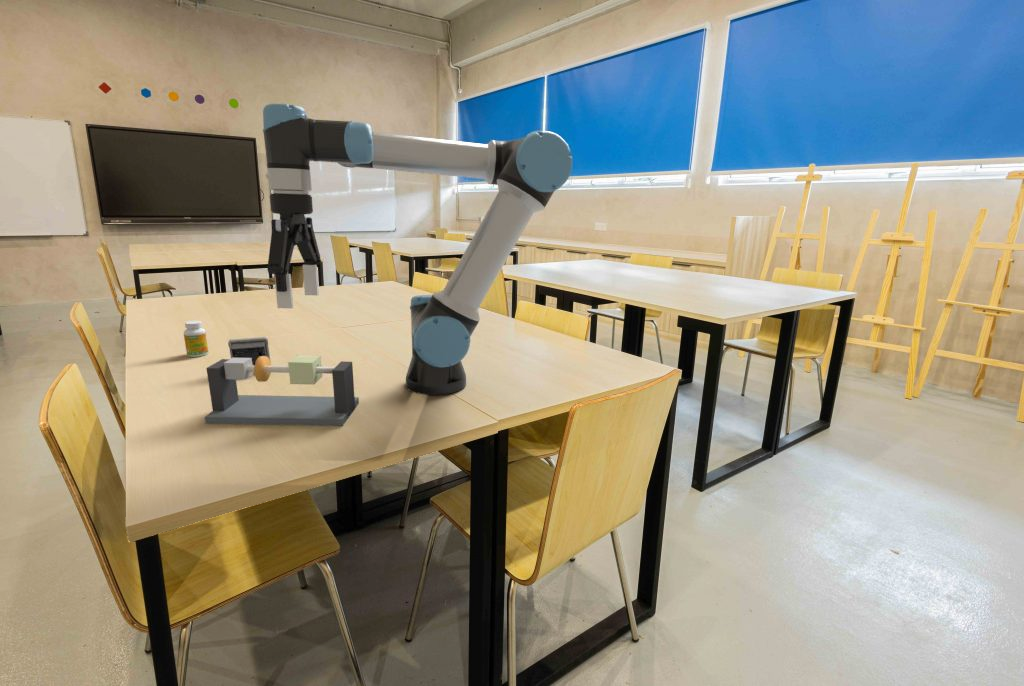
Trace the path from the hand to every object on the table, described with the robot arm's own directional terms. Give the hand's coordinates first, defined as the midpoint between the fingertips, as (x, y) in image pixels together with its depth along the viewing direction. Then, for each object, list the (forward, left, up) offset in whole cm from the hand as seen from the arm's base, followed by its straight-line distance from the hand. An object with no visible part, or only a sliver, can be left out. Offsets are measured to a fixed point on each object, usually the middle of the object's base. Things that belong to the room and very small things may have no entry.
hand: (299, 301), depth 104 cm
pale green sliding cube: (0, 0, -17) cm, 17 cm away
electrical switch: (+25, -27, -25) cm, 44 cm away
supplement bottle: (+47, -40, -25) cm, 66 cm away
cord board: (+5, 0, -25) cm, 25 cm away
